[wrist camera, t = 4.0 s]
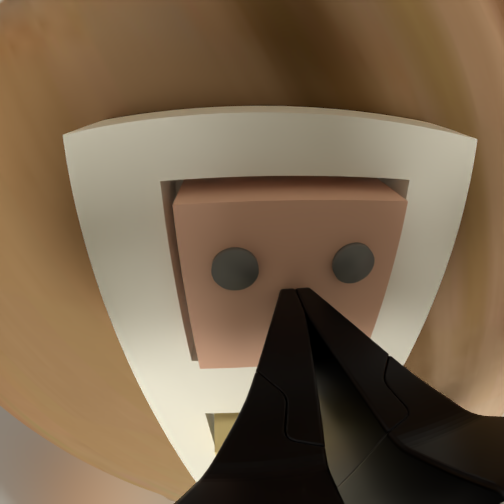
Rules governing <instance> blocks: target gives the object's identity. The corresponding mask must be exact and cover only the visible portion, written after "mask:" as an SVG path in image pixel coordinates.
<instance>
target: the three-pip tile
mask: <svg viewBox="0 0 504 504" xmlns="http://www.w3.org/2000/svg"><path fill="white" fill-rule="evenodd" d="M407 204H408V201H407V200H406V199H404V198H403V197H402V196H400V195H399V194H398V193H397V192H395V191H394V190H393V189H391V188H390V187H389V186H387V185H386V184H385V183H383V182H382V181H380V180H379V179H378V178H371V177H346V176H243V177H218V178H199V179H184V180H183V183H182V185H181V187H180V189H179V191H178V194H177V196H176V198H175V200H174V203H173V214H174V221H175V229H176V236H177V244H178V251H179V257H180V264H181V270H182V277H183V283H184V289H185V295H186V300H187V306H188V311H189V317H190V322H191V327H192V333H193V338H194V343H195V348H196V352H197V357H198V362H199V366H200V369H213V368H241V367H257V365H258V362H259V359H260V356H261V353H262V349H263V346H264V343H265V340H266V336H267V333H268V330H269V326H270V323H271V320H272V316H273V313H274V309H275V306H276V303H277V299H278V296H279V292H280V290H281V289H288V288H293V289H296V288H304V287H309V288H311V289H312V290H313V291H314V292H316V293H317V294H318V295H319V296H320V297H322V298H323V299H324V300H325V301H326V302H328V303H329V304H330V305H331V306H332V307H334V308H335V309H336V310H337V311H338V312H340V313H341V314H342V315H343V316H344V317H346V318H347V319H348V320H349V321H350V322H352V323H353V324H354V325H355V326H356V327H357V328H359V329H360V330H361V331H362V332H363V333H365V334H366V335H367V336H368V337H369V338H371V335H372V332H373V329H374V327H375V324H376V321H377V318H378V315H379V312H380V308H381V305H382V302H383V299H384V296H385V292H386V289H387V286H388V282H389V279H390V275H391V272H392V268H393V264H394V261H395V257H396V253H397V249H398V245H399V241H400V236H401V232H402V228H403V223H404V218H405V214H406V209H407Z"/></svg>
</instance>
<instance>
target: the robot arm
mask: <svg viewBox="0 0 504 504" xmlns="http://www.w3.org/2000/svg"><path fill="white" fill-rule="evenodd" d="M174 504H504V417H496V416H482V415H477V414H474V413H471V412H469V411H467V410H465V409H463V408H462V407H460V406H459V405H457V404H456V403H454V402H453V401H451V400H450V399H448V398H447V397H445V396H444V395H443V394H441V393H440V392H438V391H437V390H435V389H434V388H432V387H431V386H429V385H428V384H426V383H425V382H424V381H422V380H421V379H420V378H418V377H417V376H415V375H414V374H413V373H411V372H410V371H409V370H408V369H406V368H405V367H404V366H403V365H402V364H400V363H399V362H398V361H397V360H396V359H394V358H393V357H392V356H389V354H388V353H387V352H386V351H385V350H384V349H382V348H381V347H380V346H379V345H378V344H376V343H375V342H374V341H373V340H372V339H371V338H369V337H368V336H367V335H366V334H365V333H363V332H362V331H361V330H360V329H359V328H357V327H356V326H355V325H354V324H353V323H352V322H350V321H349V320H348V319H347V318H346V317H344V316H343V315H342V314H341V313H340V312H338V311H337V310H336V309H335V308H334V307H332V306H331V305H330V304H329V303H328V302H326V301H325V300H324V299H323V298H322V297H320V296H319V295H318V294H317V293H316V292H314V291H313V290H312V289H311V288H309V287H304V288H296V289H293V288H288V289H281V290H280V292H279V296H278V299H277V303H276V306H275V309H274V313H273V316H272V320H271V323H270V326H269V330H268V333H267V336H266V340H265V343H264V346H263V349H262V353H261V356H260V359H259V362H258V365H257V369H256V373H255V374H254V378H253V381H252V384H251V387H250V389H249V392H248V395H247V397H246V400H245V402H244V404H243V406H242V408H241V411H240V413H239V415H238V417H237V419H236V421H235V423H234V424H233V426H232V428H231V430H230V432H229V434H228V435H227V437H226V439H225V441H224V442H223V444H222V446H221V448H220V450H219V451H218V453H217V455H216V457H215V458H214V460H213V461H212V463H211V465H210V466H209V468H208V469H207V470H206V472H205V473H204V474H203V476H202V477H201V478H200V479H199V480H198V481H197V482H196V483H195V484H194V485H193V486H192V487H191V488H190V489H189V490H188V491H187V492H186V493H185V494H184V495H183V496H182V497H181V498H180V499H179V500H177V501H176V502H175V503H174Z"/></svg>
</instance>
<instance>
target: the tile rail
mask: <svg viewBox="0 0 504 504" xmlns="http://www.w3.org/2000/svg"><path fill="white" fill-rule="evenodd" d="M63 141H64V148H65V154H66V160H67V166H68V172H69V177H70V182H71V187H72V192H73V197H74V201H75V206H76V210H77V214H78V218H79V222H80V226H81V230H82V234H83V238H84V241H85V245H86V248H87V252H88V255H89V259H90V262H91V265H92V268H93V272H94V275H95V278H96V281H97V284H98V287H99V290H100V292H101V295H102V298H103V301H104V304H105V306H106V309H107V312H108V314H109V317H110V320H111V322H112V325H113V327H114V330H115V332H116V335H117V337H118V339H119V342H120V344H121V347H122V349H123V351H124V353H125V356H126V358H127V360H128V362H129V365H130V367H131V369H132V371H133V373H134V375H135V377H136V379H137V381H138V384H139V386H140V388H141V390H142V392H143V394H144V396H145V397H146V399H147V401H148V403H149V405H150V407H151V409H152V411H153V413H154V414H155V416H156V418H157V420H158V422H159V423H160V425H161V427H162V429H163V431H164V432H165V434H166V436H167V437H168V439H169V441H170V442H171V444H172V446H173V447H174V449H175V451H176V452H177V454H178V455H179V457H180V459H181V460H182V462H183V463H184V465H185V466H186V468H187V469H188V471H189V472H190V474H191V475H192V477H193V478H194V480H195V481H196V482H197V481H198V480H199V479H200V478H201V477H202V476H203V474H204V473H205V472H206V470H207V469H208V468H209V466H210V465H211V463H212V461H213V460H214V458H215V457H216V455H215V442H214V413H240V411H241V408H242V406H243V404H244V402H245V400H246V397H247V395H248V392H249V389H250V387H251V384H252V381H253V378H254V374H255V373H256V369H257V367H241V368H213V369H200V366H199V362H198V357H197V352H196V348H195V343H194V338H193V333H192V327H191V322H190V317H189V311H188V306H187V300H186V295H185V289H184V283H183V277H182V270H181V264H180V257H179V251H178V244H177V236H176V229H175V221H174V214H173V203H174V200H175V198H176V196H177V194H178V191H179V189H180V187H181V185H182V183H183V180H184V179H199V178H218V177H243V176H346V177H371V178H378V179H379V180H380V181H382V182H383V183H385V184H386V185H387V186H389V187H390V188H391V189H393V190H394V191H395V192H397V193H398V194H399V195H400V196H402V197H403V198H404V199H406V200H407V201H408V204H407V209H406V214H405V218H404V223H403V228H402V232H401V236H400V241H399V245H398V249H397V253H396V257H395V261H394V264H393V268H392V272H391V275H390V279H389V282H388V286H387V289H386V292H385V296H384V299H383V302H382V305H381V308H380V312H379V315H378V318H377V321H376V324H375V327H374V329H373V332H372V335H371V339H372V340H373V341H374V342H375V343H376V344H378V345H379V346H380V347H381V348H382V349H384V350H385V351H386V352H387V353H388V354H389V356H392V357H393V358H394V359H396V360H397V361H398V362H399V363H400V364H402V365H404V364H405V362H406V360H407V358H408V356H409V354H410V352H411V350H412V348H413V346H414V344H415V342H416V340H417V338H418V335H419V333H420V331H421V329H422V327H423V325H424V322H425V320H426V318H427V316H428V313H429V311H430V308H431V306H432V304H433V301H434V299H435V296H436V294H437V291H438V289H439V286H440V283H441V281H442V278H443V275H444V273H445V270H446V267H447V264H448V261H449V258H450V255H451V252H452V249H453V246H454V242H455V239H456V236H457V232H458V229H459V225H460V222H461V218H462V214H463V210H464V206H465V202H466V198H467V194H468V189H469V185H470V180H471V175H472V170H473V164H474V158H475V152H476V146H477V139H476V138H473V137H470V136H468V135H465V134H462V133H459V132H456V131H454V130H451V129H448V128H445V127H441V126H438V125H435V124H432V123H429V122H424V121H419V120H414V119H408V118H402V117H396V116H390V115H383V114H376V113H369V112H360V111H351V110H341V109H330V108H316V107H296V106H225V107H205V108H191V109H180V110H169V111H160V112H152V113H144V114H137V115H130V116H124V117H118V118H112V119H106V120H102V121H99V122H96V123H93V124H91V125H88V126H85V127H82V128H79V129H77V130H74V131H71V132H69V133H66V134H64V135H63Z"/></svg>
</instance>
